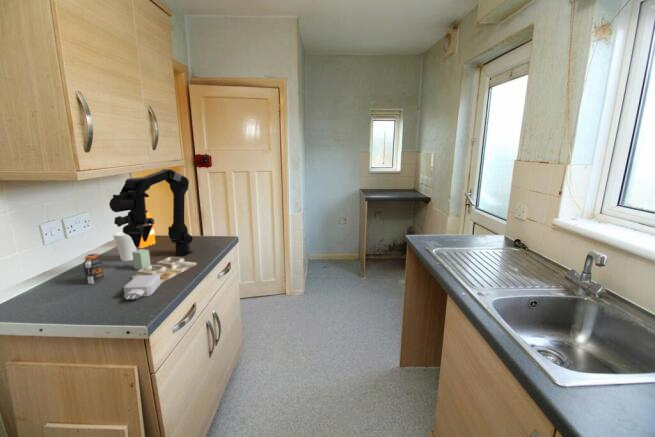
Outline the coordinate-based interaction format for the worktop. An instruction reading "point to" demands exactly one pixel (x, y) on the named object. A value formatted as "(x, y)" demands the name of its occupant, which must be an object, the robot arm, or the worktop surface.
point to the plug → (141, 259)
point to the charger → (141, 286)
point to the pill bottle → (93, 269)
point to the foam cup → (124, 246)
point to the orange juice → (150, 238)
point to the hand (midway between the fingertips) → (141, 244)
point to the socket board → (166, 268)
